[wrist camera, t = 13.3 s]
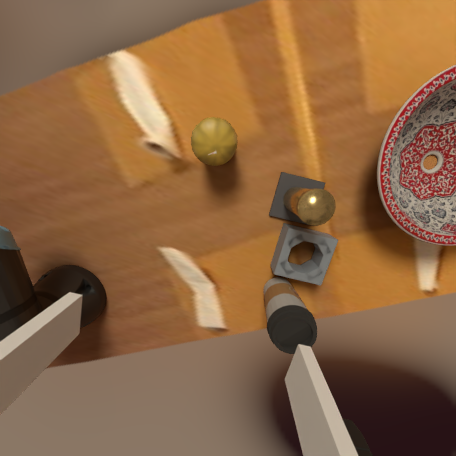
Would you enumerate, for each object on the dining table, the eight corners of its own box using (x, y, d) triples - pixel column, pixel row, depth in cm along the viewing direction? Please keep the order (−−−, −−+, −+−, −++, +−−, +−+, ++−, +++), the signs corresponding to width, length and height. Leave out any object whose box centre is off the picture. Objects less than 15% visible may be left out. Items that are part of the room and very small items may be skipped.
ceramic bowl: (496, 46, 38) (563, 13, 30) (519, 199, 44) (580, 204, 36) (333, 123, 42) (356, 111, 34) (375, 254, 48) (403, 270, 40)
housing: (270, 265, 49) (273, 274, 45) (283, 223, 46) (288, 228, 42) (313, 275, 49) (320, 285, 45) (328, 234, 47) (338, 240, 42)
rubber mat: (268, 214, 46) (269, 215, 46) (281, 172, 44) (281, 172, 43) (309, 224, 46) (310, 225, 46) (324, 182, 44) (325, 182, 44)
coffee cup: (302, 292, 50) (330, 340, 36) (272, 311, 52) (287, 364, 37) (281, 265, 49) (301, 303, 34) (251, 285, 50) (258, 330, 36)
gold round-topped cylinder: (278, 209, 45) (292, 220, 34) (286, 182, 44) (304, 184, 32) (304, 215, 45) (327, 229, 34) (313, 189, 44) (340, 194, 32)
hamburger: (231, 123, 42) (229, 103, 30) (241, 160, 44) (244, 155, 32) (193, 135, 43) (178, 121, 31) (205, 172, 44) (194, 171, 33)
